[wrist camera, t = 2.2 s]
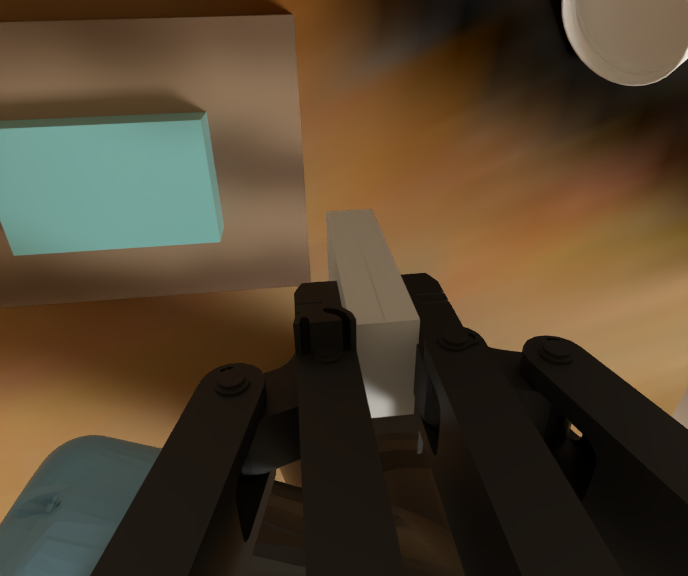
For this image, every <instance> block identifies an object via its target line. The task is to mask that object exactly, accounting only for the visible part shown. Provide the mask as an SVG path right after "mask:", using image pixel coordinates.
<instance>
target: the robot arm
mask: <svg viewBox="0 0 688 576" xmlns="http://www.w3.org/2000/svg"><path fill="white" fill-rule="evenodd" d="M326 220H327V244H328V267H329V281H326V282H312V283H301V284H300V286H299V287H298V289H297V290H296V291H295V293H294V300H295V320H294V323H293V328H294V339H295V350H296V353H295V355H294V356H293V358H292V359H291V360H290V361H289V362H288V363H287V364H285V365H284V366H282V367H280V368H278V369H276V370H273V371H270V372H267V373H264V374H262V372H261V370H259V369H258V368H256V367H254V366H253V365H248V364H243V363H236V364H228V365H224V366H221V367H218V368H216V369H214V370H213V371H211V372H209V373H208V374H207V375H206V376H205V377H204V378H203V379H202V380H201V382H200V383H199V385H198V387H197V389H196V390H195V392H194V394H193V396H192V397H191V399H190V401H189V403H188V404H187V406H186V408H185V410H184V411H183V413H182V415H181V417H180V418H179V420H178V422H177V424H176V425H175V427H174V429H173V431H172V432H171V434H170V436H169V438H168V439H167V441H166V443H165V445H164V447H163V448H162V449H161V448H156V447H152V446H147V445H143V444H138V443H134V442H129V441H125V440H120V439H116V438H111V437H107V436H100V435H89V436H82V437H78V438H75V439H72V440H70V441H68V442H66V443H64V444H63V445H61V446H59V447H58V448H56V449H55V450H54V451H53V452H52V453H51V454H49V455H48V456H47V458H46V459H45V460H44V461H43V462H42V464H41V465H40V466H39V468H38V469H37V471H36V472H35V473H34V475H33V476H32V478H31V479H30V480H29V482H28V483H27V485H26V486H25V488H24V489H23V491H22V492H21V494H20V495H19V497H18V498H17V500H16V501H15V503H14V504H13V506H12V507H11V509H10V510H9V512H8V513H7V515H6V516H5V518H4V519H3V521H2V522H1V524H0V576H688V429H686V428H685V427H684V426H683V425H681V424H680V423H679V422H678V421H676V420H675V419H674V418H672V417H671V416H670V415H669V414H667V413H666V412H665V411H663V410H662V409H661V408H659V407H658V406H657V405H656V404H654V403H653V402H652V401H650V400H649V399H648V398H646V397H645V396H644V395H643V394H641V393H640V392H639V391H637V390H636V389H635V388H633V387H632V386H631V385H630V384H628V383H627V382H626V381H624V380H623V379H622V378H621V377H619V376H618V375H617V374H615V373H614V372H613V371H611V370H610V369H609V368H608V367H606V366H605V365H604V364H602V363H601V362H600V361H598V360H597V359H596V358H595V357H593V356H592V355H591V354H589V353H588V352H587V351H585V350H584V349H583V348H582V347H580V346H578V345H577V344H575V343H573V342H572V341H569V340H566V339H563V338H560V337H555V336H537V337H533V338H531V339H529V340H527V341H526V343H525V344H524V346H523V350H522V352H516V351H507V350H500V349H495V348H491V347H488V346H487V344H486V342H485V341H484V339H483V338H482V337H481V336H480V335H479V334H478V333H476V332H475V331H473V330H471V329H469V328H465V327H463V326H462V324H461V322H460V320H459V318H458V317H457V315H456V313H455V311H454V309H453V308H452V306H451V304H450V302H448V299H447V297H446V295H445V293H443V290H442V288H441V286H440V284H439V283H438V281H437V280H435V279H434V278H432V277H431V276H429V275H428V274H426V273H418V274H405V275H400V272H399V270H398V268H397V266H396V263H395V261H394V259H393V256H392V254H391V252H390V250H389V247H388V245H387V243H386V240H385V238H384V236H383V234H382V231H381V229H380V227H379V224H378V222H377V220H376V218H375V215H374V213H373V211H372V209H363V210H346V211H330V212H326ZM571 424H573V425H574V426H575V427H576V428H577V429H578V430H579V431H580V432H581V433H582V434H583V435H582V437H579V436H578V435H577V434H575V433H574V432H573V431H572V430H571V429H570V428H571ZM277 468H280V470H281V473H282V475H283V477H284V480H285V482H286V483H283V482H279V481H276V480H274V479H275V476H276V469H277Z"/></svg>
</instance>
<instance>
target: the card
mask: <svg viewBox="0 0 688 576" xmlns="http://www.w3.org/2000/svg"><path fill="white" fill-rule="evenodd" d="M0 222H1V224H2V227H3V229H4V232H5V235H6V237H7V240H8V242H9V245H10V247H11V250H12V252H13V255H14V256H18V255H33V254H48V253H64V252H79V251H94V250H109V249H124V248H140V247H155V246H170V245H185V244H200V243H215V242H221V238H222V234H223V230H224V223H223V216H222V210H221V203H220V197H219V190H218V184H217V177H216V171H215V164H214V158H213V151H212V145H211V138H210V132H209V125H208V119H207V112H190V113H167V114H144V115H121V116H98V117H75V118H52V119H29V120H6V121H0Z"/></svg>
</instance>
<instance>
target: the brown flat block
mask: <svg viewBox="0 0 688 576" xmlns="http://www.w3.org/2000/svg"><path fill="white" fill-rule="evenodd" d="M190 112H207V119H208V125H209V132H210V138H211V145H212V151H213V158H214V164H215V171H216V177H217V184H218V190H219V197H220V203H221V210H222V216H223V223H224V230H223V234H222V238H221V242H215V243H200V244H185V245H170V246H155V247H140V248H124V249H109V250H94V251H79V252H64V253H48V254H33V255H18V256H14V255H13V252H12V250H11V247H10V245H9V242H8V240H7V237H6V235H5V232H4V229H3V227H2V224H1V222H0V308H7V307H21V306H34V305H47V304H61V303H74V302H88V301H101V300H115V299H128V298H142V297H155V296H169V295H182V294H196V293H209V292H222V291H236V290H249V289H263V288H276V287H290V286H300V284H301V283H311V278H310V262H309V247H308V231H307V215H306V200H305V184H304V168H303V153H302V137H301V121H300V106H299V90H298V74H297V59H296V43H295V27H294V15H293V14H270V15H233V16H196V17H159V18H122V19H85V20H48V21H12V22H0V121H6V120H29V119H52V118H75V117H98V116H121V115H144V114H167V113H190Z"/></svg>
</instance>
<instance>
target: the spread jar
mask: <svg viewBox="0 0 688 576" xmlns="http://www.w3.org/2000/svg"><path fill="white" fill-rule="evenodd" d="M561 6H562V20H563V25H564V29H565V32H566V35H567V38H568V40H569V42H570V44H571V46H572V48H573V50H574V51H575V52H576V54H577V55H578V56H579V58H580V59H581V60H582V61H583V62H584V63H585V64H586V65H587V66H588V67H589V68H590V69H591V70H592V71H594V72H595V73H596V74H598V75H599V76H601V77H603V78H605V79H607V80H609V81H612V82H615V83H618V84H621V85H629V86H640V85H647V84H651V83H655V82H657V81H659V80H661V79H663V78H665V77H667V76H668V75H669V74H670V73H671V72H673V71H674V70H675V69H676V68H677V67H678V66H680V65H681V64H682V63H683V62H684V61H685V60H687V59H688V0H562V2H561Z"/></svg>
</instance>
